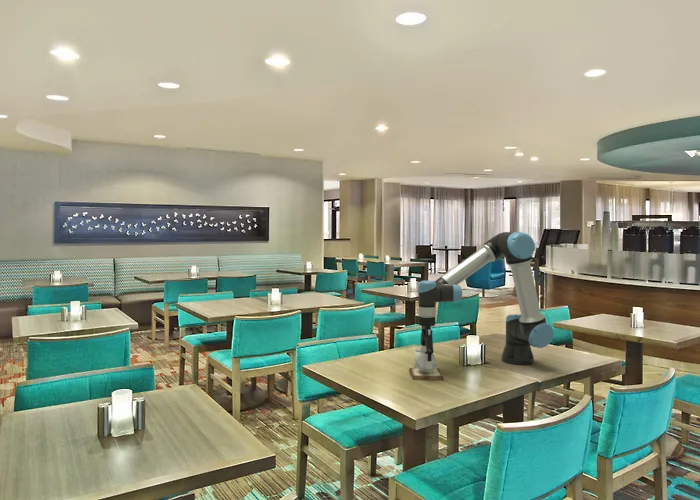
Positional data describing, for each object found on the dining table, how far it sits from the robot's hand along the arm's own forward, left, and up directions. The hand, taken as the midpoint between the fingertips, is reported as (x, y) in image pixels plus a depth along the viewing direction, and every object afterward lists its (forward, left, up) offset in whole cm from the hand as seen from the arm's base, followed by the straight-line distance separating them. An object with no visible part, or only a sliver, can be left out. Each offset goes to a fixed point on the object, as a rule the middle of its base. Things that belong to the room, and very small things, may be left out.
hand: (426, 364), depth 221 cm
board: (0, 0, -5) cm, 5 cm away
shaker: (+1, -15, -5) cm, 16 cm away
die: (0, 0, -3) cm, 4 cm away
